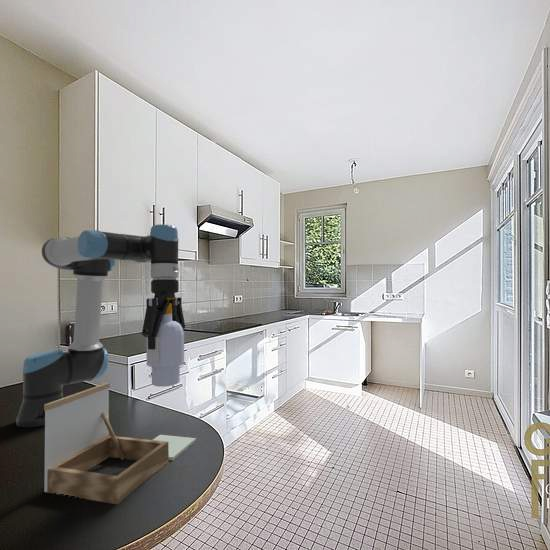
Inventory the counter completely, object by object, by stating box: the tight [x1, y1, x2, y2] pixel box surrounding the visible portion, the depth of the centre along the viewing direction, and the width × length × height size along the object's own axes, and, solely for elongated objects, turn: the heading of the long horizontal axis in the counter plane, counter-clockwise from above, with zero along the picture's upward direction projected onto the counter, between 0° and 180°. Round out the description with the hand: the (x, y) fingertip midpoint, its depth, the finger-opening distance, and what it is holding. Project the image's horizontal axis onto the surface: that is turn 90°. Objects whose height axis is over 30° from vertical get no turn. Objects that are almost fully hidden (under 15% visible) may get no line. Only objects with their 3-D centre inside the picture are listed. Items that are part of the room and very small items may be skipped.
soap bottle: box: [145, 298, 185, 388], centre depth 98 cm, size 10×10×24 cm
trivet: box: [152, 434, 197, 461], centre depth 97 cm, size 12×12×1 cm
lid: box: [43, 382, 111, 493], centre depth 86 cm, size 1×19×19 cm, turn 164°
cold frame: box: [47, 412, 170, 505], centre depth 83 cm, size 19×18×12 cm
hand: (165, 357), depth 98 cm, fingers closed on soap bottle, 10 cm apart
